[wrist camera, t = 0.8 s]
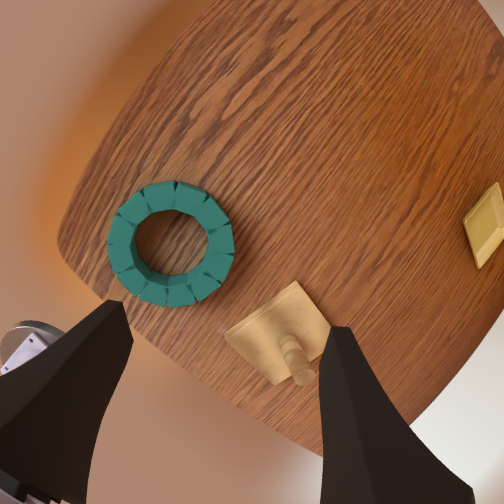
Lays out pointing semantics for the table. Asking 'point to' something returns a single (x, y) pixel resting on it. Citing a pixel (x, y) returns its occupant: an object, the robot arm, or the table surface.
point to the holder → (282, 336)
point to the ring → (178, 286)
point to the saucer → (485, 224)
